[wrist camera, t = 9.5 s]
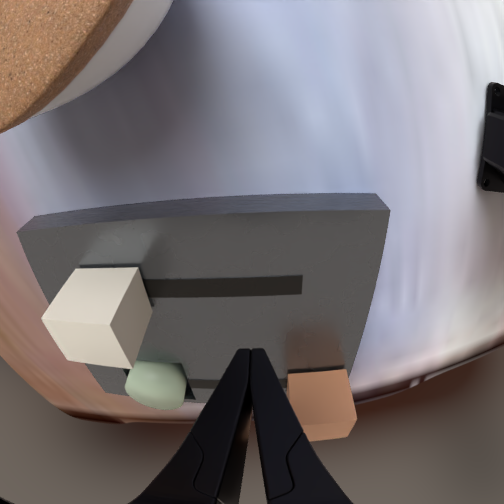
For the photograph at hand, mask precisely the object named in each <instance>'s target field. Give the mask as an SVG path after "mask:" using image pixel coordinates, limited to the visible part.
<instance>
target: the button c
mask: <svg viewBox="0 0 504 504" xmlns="http://www.w3.org/2000/svg"><path fill="white" fill-rule="evenodd" d="M186 385H187V376H186V374H185V371H184V368H183V366H182V363H164V362H149V361H137V360H136V361H135V364H134V367H133V369H130V371H129V375H128V378H127V381H126V384H125V390H126V392H127V393H128V395H129V396H130V397H131V398H133V399H134V400H136V401H137V402H139V403H141V404H143V405H145V406H148V407H151V408H155V409H161V410H173V409H177V408H179V407H181V406H182V405H183V402H184V396H185V390H186Z"/></svg>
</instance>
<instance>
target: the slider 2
mask: <svg viewBox="0 0 504 504" xmlns="http://www.w3.org/2000/svg"><path fill="white" fill-rule="evenodd" d="M286 395H287V398H288V400H289V402H290V404H291V406H292V408H293V410H294V412H295V414H296V416H297V418H298V420H299V422H300V424H301V426H302V428H303V430H304V433H305V434H306V436H307V438H308V440H309V441H319V440H327V439H336V438H343V437H347V436H348V435H349V433H350V431H351V429H352V428H353V426H354V424H355V422H356V420H357V416H356V411H355V407H354V402H353V397H352V392H351V388H350V383H349V379H348V375H347V370H346V369H342V370H332V371H322V372H309V373H295V374H288V380H287V394H286Z"/></svg>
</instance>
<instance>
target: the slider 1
mask: <svg viewBox="0 0 504 504" xmlns="http://www.w3.org/2000/svg"><path fill="white" fill-rule="evenodd" d="M152 312H153V311H152V308H151V305H150V302H149V299H148V296H147V293H146V290H145V287H144V284H143V281H142V278H141V275H140V271H139V268H138V267H132V268H84V269H75V270H74V272H73V273H72V274H71V276H70V277H69V278H68V280H67V281H66V283H65V284H64V285H63V287H62V288H61V290H60V291H59V292H58V294H57V295H56V297H55V298H54V300H53V301H52V303H51V304H50V306H49V307H48V309H47V310H46V312H45V313H44V315H43V316H42V318H41V319H42V321H43V323H44V324H45V326H46V328H47V329H48V331H49V332H50V334H51V336H52V337H53V339H54V340H55V342H56V344H57V345H58V347H59V348H60V350H61V351H62V353H63V354H64V356H65V357H66V358H67V360H70V361H76V362H82V363H88V364H95V365H102V366H110V367H118V368H127V369H133V367H134V364H135V361H136V358H137V355H138V352H139V349H140V346H141V343H142V341H143V338H144V335H145V332H146V329H147V326H148V323H149V321H150V318H151V315H152Z"/></svg>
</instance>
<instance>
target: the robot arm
mask: <svg viewBox="0 0 504 504" xmlns="http://www.w3.org/2000/svg"><path fill="white" fill-rule="evenodd" d="M495 89H496V94H495ZM485 179H486V181H485ZM484 181H485V183H484ZM477 183H478V186H479V187H480V188H481V189H483V190H485V191H494V192H503V193H504V85H501V84H499V83H495V82H491V83H489V85H488V92H487V111H486V123H485V133H484V141H483V149H482V156H481V162H480V168H479V174H478V179H477ZM252 409H253V414H254V421H255V428H256V434H257V442H258V447H259V455H260V461H261V468H262V475H263V481H264V487H265V494H266V500H267V504H353V503H352V502H351V500H350V499H349V498H348V497H347V496H346V495H345V493H344V492H343V491H342V490H341V488H340V487H339V486H338V484H337V483H336V481H335V480H334V479H333V477H332V476H331V475H330V473H329V472H328V471H327V469H326V468H325V466H324V465H323V464H322V462H321V461H320V459H319V457H318V456H317V455H316V453H315V451H314V449H313V447H312V445H311V444H310V442H309V440H308V438H307V436H306V434H305V433H304V430H303V428H302V426H301V424H300V422H299V420H298V418H297V416H296V414H295V412H294V410H293V408H292V406H291V404H290V402H289V400H288V398H287V395H286V393H285V391H284V389H283V387H282V385H281V383H280V381H279V379H278V377H277V375H276V373H275V370H274V368H273V366H272V364H271V362H270V360H269V358H268V356H267V353H266V351H265V350H264V349H263V348H253V349H249V348H240V349H238V350H237V351H236V353H235V355H234V356H233V358H232V360H231V362H230V363H229V365H228V367H227V369H226V370H225V372H224V374H223V376H222V377H221V379H220V381H219V383H218V384H217V386H216V388H215V389H214V391H213V393H212V395H211V396H210V398H209V400H208V401H207V403H206V405H205V406H204V408H203V410H202V411H201V413H200V415H199V417H198V418H197V420H196V422H195V423H194V425H193V427H192V428H191V430H190V431H191V432H189V433H188V435H187V436H186V438H185V440H184V441H183V443H182V444H181V446H180V447H179V449H178V450H177V452H176V453H175V454H174V456H173V457H172V458H171V460H170V461H169V462H168V464H167V465H166V466H165V467H164V468H163V469H162V471H161V472H160V473H159V474H158V475H157V476H156V477H155V479H154V480H153V481H152V482H151V483H150V484H149V486H148V487H147V488H146V489H145V490H144V491H143V492H142V493H141V494H140V495H139V496H138V497H137V498H135V499H134V500H133V501H131V502H130V503H128V504H239V498H240V492H241V486H242V479H243V473H244V466H245V459H246V451H247V446H248V439H249V431H250V424H251V418H252ZM0 504H14V503H12V502H10V501H8V500H5V499H4V498H1V497H0Z"/></svg>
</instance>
